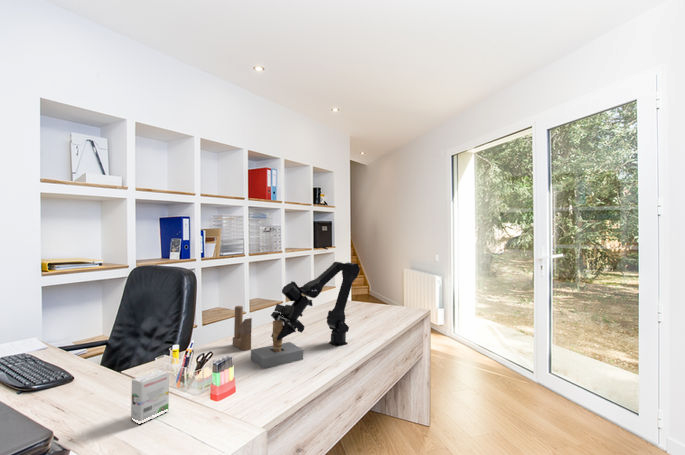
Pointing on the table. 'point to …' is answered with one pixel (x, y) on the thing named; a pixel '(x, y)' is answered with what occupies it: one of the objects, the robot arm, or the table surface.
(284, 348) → the seat board
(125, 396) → the table surface
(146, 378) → the ink box
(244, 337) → the wooden block
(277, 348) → the teak leg
